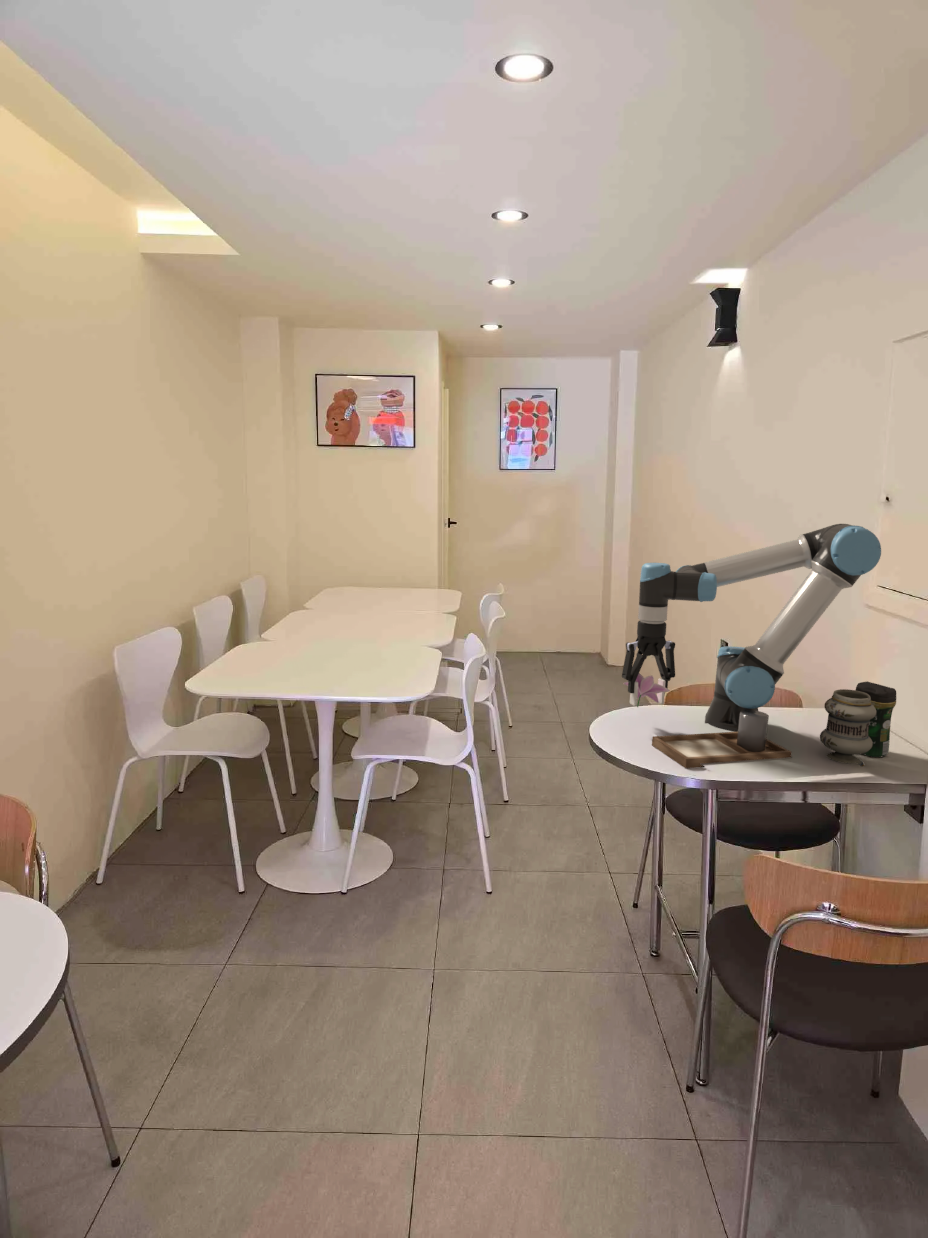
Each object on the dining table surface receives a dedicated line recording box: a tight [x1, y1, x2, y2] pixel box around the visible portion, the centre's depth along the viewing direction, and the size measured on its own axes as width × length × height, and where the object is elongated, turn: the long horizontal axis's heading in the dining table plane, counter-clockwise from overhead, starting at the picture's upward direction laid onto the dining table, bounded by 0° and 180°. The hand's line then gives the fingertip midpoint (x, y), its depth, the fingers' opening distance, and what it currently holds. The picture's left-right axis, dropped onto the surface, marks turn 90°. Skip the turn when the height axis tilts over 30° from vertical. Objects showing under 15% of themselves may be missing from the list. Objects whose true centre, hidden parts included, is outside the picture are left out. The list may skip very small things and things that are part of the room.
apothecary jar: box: [819, 688, 876, 767], centre depth 201 cm, size 12×12×18 cm
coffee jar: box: [855, 680, 897, 758], centre depth 209 cm, size 10×8×19 cm
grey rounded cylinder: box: [737, 710, 769, 752], centre depth 206 cm, size 7×7×9 cm
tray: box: [651, 731, 793, 769], centre depth 205 cm, size 30×16×2 cm, turn 106°
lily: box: [622, 672, 671, 708], centre depth 216 cm, size 12×12×10 cm
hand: (646, 703), depth 217 cm, fingers closed on lily, 7 cm apart
